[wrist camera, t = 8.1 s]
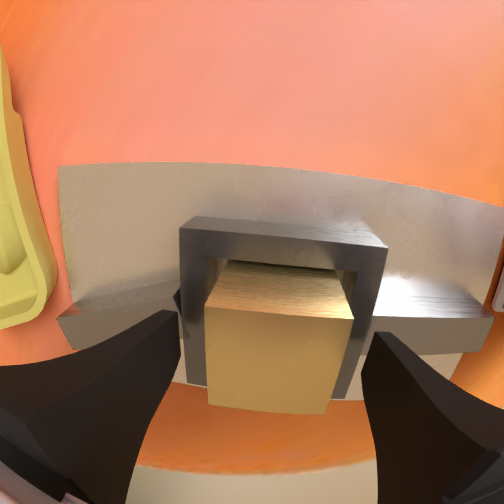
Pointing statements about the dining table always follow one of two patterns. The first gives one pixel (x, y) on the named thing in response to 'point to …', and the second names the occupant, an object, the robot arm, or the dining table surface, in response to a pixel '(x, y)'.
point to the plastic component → (20, 222)
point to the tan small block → (275, 337)
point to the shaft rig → (276, 253)
